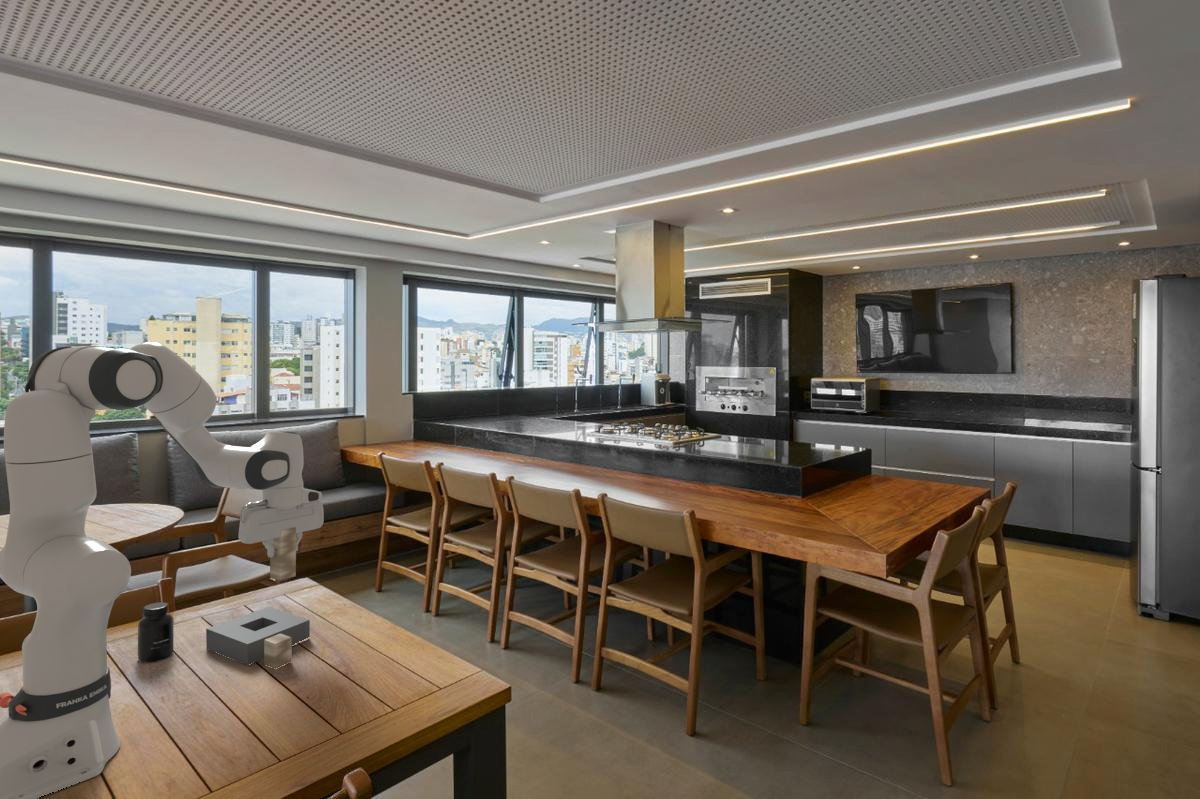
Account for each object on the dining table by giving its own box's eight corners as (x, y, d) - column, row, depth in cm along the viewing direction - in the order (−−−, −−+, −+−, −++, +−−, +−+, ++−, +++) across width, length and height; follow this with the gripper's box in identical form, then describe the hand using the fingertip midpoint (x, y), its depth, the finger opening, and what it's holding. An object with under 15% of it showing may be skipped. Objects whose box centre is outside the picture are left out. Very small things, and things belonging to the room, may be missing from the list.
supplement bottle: (160, 663, 145) (159, 612, 144) (130, 662, 145) (129, 611, 144) (180, 650, 152) (179, 600, 151) (152, 649, 152) (151, 599, 151)
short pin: (275, 670, 143) (275, 643, 143) (264, 665, 145) (264, 639, 145) (291, 662, 147) (291, 637, 147) (280, 658, 149) (280, 633, 148)
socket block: (247, 665, 145) (247, 644, 145) (206, 649, 153) (206, 628, 152) (309, 639, 159) (309, 619, 159) (269, 625, 167) (268, 606, 166)
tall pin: (280, 580, 152) (280, 530, 151) (270, 577, 154) (270, 528, 153) (295, 576, 155) (295, 527, 155) (285, 573, 157) (285, 524, 157)
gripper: (249, 506, 143) (249, 567, 144) (327, 492, 161) (327, 546, 162) (232, 502, 146) (232, 562, 147) (311, 489, 164) (311, 542, 165)
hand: (282, 553), depth 154 cm, fingers closed on tall pin, 4 cm apart
